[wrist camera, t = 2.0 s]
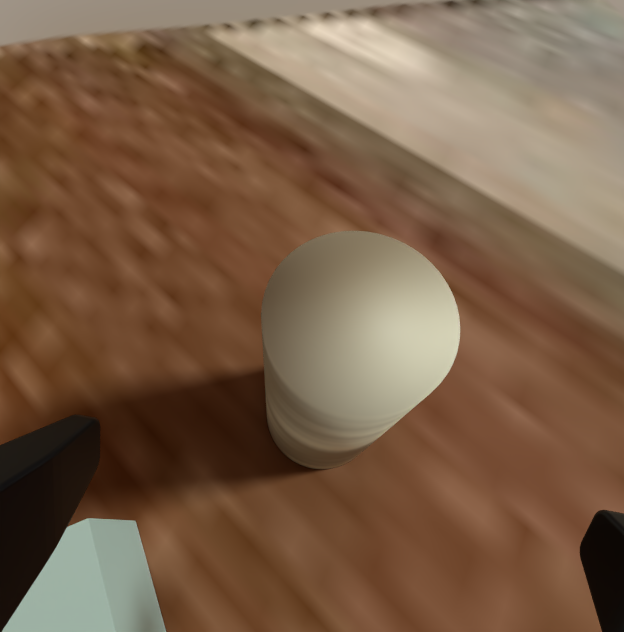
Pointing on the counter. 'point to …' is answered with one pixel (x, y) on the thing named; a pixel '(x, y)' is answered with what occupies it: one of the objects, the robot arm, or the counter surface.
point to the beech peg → (351, 343)
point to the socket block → (92, 584)
